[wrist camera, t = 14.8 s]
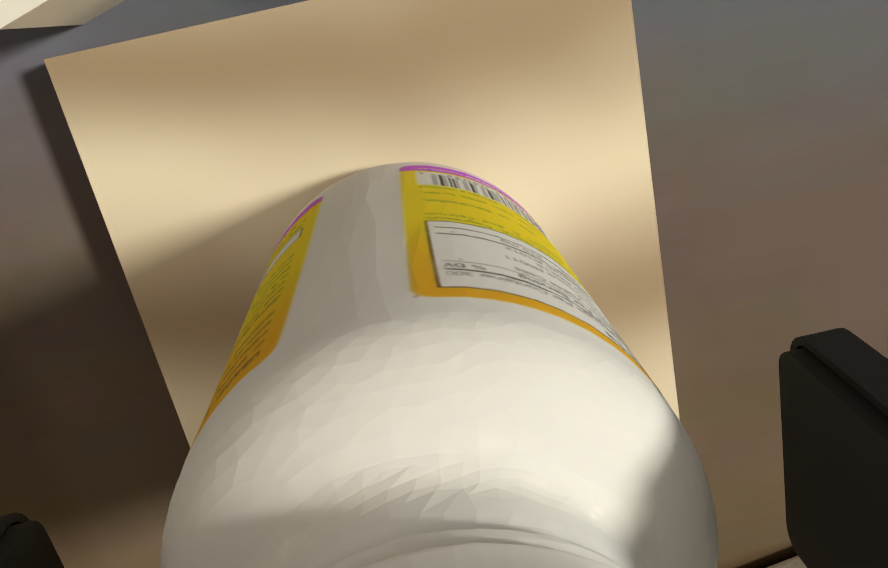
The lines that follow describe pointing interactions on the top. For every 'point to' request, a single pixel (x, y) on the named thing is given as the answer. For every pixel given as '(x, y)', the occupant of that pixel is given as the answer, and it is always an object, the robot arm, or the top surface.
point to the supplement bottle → (433, 403)
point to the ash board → (361, 150)
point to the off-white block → (50, 12)
